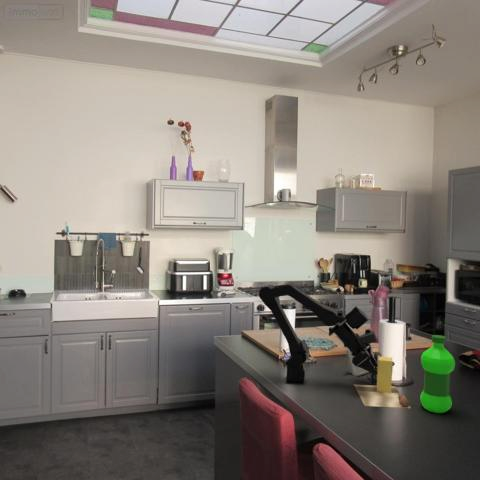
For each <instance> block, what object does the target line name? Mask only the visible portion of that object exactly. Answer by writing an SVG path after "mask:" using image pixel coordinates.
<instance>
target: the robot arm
mask: <svg viewBox="0 0 480 480" xmlns="http://www.w3.org/2000/svg"><path fill="white" fill-rule="evenodd" d="M286 295H287V296H289V297H290V298H292V299H293V300H294V301H296V302H298V303H299V304H301V305H302V306H304V307H305V308H306V309H308V310H309V311H311V312H312V313H313V314H314V315H315V316H316V317H317V319H318V320H320V322H322V323H323V324H324V325H325V326H327V327H329V328H328V336H329V337H330V336H332V335H333V334H334V335H335V336H336V337H337V338H338V339H339V340H340V341H341V343H342V344H343V347H344V348H346V349H347V350H348V349H349V351H350V352H351V355H352V356H353V358H352V363H353V364H354V365H355V366H357V367H360V368H362V369H364V370H366V371H368V372H369V373H370V374H373V375H374V376H377V374H378V372H377V369H378V361H377V360H376V358H375V359H374V357H375V356H374V357H373V355H372V353H371V346H372V345H371V344H372V343H373V344H374V343H376V342H378V338H377V335H376V332H375V331H374V330H371V329H370V328H367V329H365V332H364V333H363V334H361V335H360V334H359V333H357V332H356V333H355V331H354V330H359V329H360V328H361V327H362V326H363V325H365V324H366V323H368V322H369V320H370V319H369V317H368V316H367V314H366V313H365V312H364V311H363V310H361V308H359V307H358V306H357V305H355V306H354V307H352V309H351V310H350V311H348V313H344V312H339V311H338V310H337V309H335V308H333V307H331V306H328V305H326V304H323V303H321V302H319V301H318V300H316V299H314V298H313V297H311V296H310V295H308V294H307V293H305V292H304V291H303V290H301V289H300V288H298V287H297V286H295V285H294V284H293V283H286V284H280V285H275V286H274V285H273V284H267V285H264V286H263V287H261V288H260V289H259V292H258V296H259V299H260V300H261V302H262V303H263V304H264V305H265V306H266V307H267V308H268V309H269V310H270V311H271V313H272V316H273V317H274V319H275V321H276V324H277V325H278V327H279V328H280V330H281V332H282V334H283V336H284V338H285V339H286V340H285V341H286V342H287V345H288V351H289V355H290V356H288V359H287V360H286V361H285V365H286V371H285V372H286V376H285V382H286V384H292V385H293V384H294V385H296V384H297V385H303V384H304V383H305V380H306V379H305V378H306V377H305V376H306V370H305V368H304V364H305V362H306V361H307V360H308V358H309V356H310V347H309V346H308V344H307V342H306V341H307V340H306V339H305V338H304V339H302V340H301V338H299V337H298V335H297V333H296V331H295V329H294V328H293V326H292V324H291V322H290V320H289V318H288V316H287V314H286V313H285V311H284V308H283V307H282V305H281V300H280V297H284V296H286ZM370 345H371V346H370ZM367 346H369V347H367ZM375 367H376V368H377V369H375Z"/></svg>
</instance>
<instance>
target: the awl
mask: <svg viewBox="0 0 480 480" xmlns="http://www.w3.org/2000/svg"><path fill="white" fill-rule="evenodd" d="M399 393H400V391H398V392H397V394H398V395H399V397H398V399H399V401H400V402H401V404H402V405H403V406H404V407H408V406H410V401H409V400H408V399H407V398H406V396H405V395H404V394H401V393H400V394H401V395H400V394H399Z"/></svg>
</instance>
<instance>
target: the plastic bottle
mask: <svg viewBox="0 0 480 480" xmlns="http://www.w3.org/2000/svg"><path fill="white" fill-rule="evenodd" d="M446 340H447V337H446V336H445V335H440V334H439V335H438V334H433V335H431V342H432V346H431V347H429V348H428V349H426V350H425V351H423V352H422V354H421V356H420V363H421V367H422V368H423V370H424V372H423V374H424V376H423V389H422V392H421V393H420V396H419V397H420V398H419V399H420V402H421V405H422V407H423V409H425V410H426V411H428V412H430V413H435V414H444V413H446V412H448V411H449V410H450V409H451V408H452V405H453V401H452V397H451V395H450V389H451V387H450V385H451V384H450V382H451V373H452V372H453V371H454V370H455V367H456V361H455V357H453V355H452V354H451V353H450V352H449V350H447V349H446V348H445V346H444V345H445V344H447V343H446Z"/></svg>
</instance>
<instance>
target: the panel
mask: <svg viewBox="0 0 480 480" xmlns="http://www.w3.org/2000/svg"><path fill="white" fill-rule="evenodd" d="M353 386H354V388H355V390H356V392H357V394H358V396H359V397H360V400H361V401H362V403H363V406H364V407H380V408H397V409H398V408H399V409H401V408H402V409H411V406H410V405H409V406H408V407H404V406H403V405H402V404H401V402H400V401H399V399H398V397H399V395H398V394H397V392H399V390H398V389H397V388H396V386H395V385H394V386H393V385H391V393H386V392H377V385H375V384H374V385H371V384H369V385H368V384H353ZM399 394H400V395H402V394H401V393H400V392H399Z"/></svg>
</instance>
